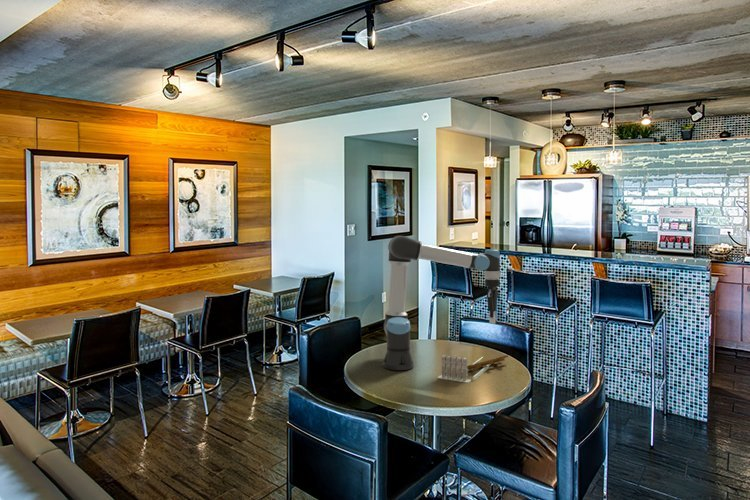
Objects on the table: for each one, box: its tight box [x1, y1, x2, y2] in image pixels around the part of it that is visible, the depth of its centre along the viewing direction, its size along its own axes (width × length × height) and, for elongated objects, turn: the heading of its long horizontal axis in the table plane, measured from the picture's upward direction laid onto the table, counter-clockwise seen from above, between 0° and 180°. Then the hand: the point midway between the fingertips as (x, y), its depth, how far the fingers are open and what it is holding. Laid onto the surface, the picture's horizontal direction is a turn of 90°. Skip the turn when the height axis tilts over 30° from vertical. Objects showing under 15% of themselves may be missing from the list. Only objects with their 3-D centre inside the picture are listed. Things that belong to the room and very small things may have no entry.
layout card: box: [436, 374, 472, 384], centre depth 227 cm, size 15×4×1 cm, turn 61°
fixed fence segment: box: [441, 354, 468, 381], centre depth 228 cm, size 2×12×10 cm, turn 61°
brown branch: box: [467, 354, 509, 371], centre depth 245 cm, size 25×2×10 cm
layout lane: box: [467, 356, 492, 381], centre depth 243 cm, size 8×37×2 cm, turn 151°
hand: (492, 323), depth 263 cm, fingers closed
